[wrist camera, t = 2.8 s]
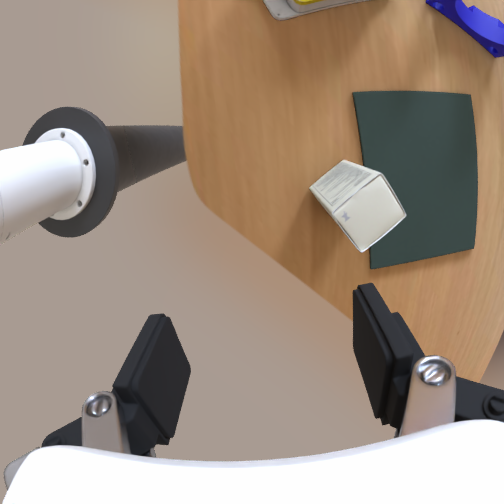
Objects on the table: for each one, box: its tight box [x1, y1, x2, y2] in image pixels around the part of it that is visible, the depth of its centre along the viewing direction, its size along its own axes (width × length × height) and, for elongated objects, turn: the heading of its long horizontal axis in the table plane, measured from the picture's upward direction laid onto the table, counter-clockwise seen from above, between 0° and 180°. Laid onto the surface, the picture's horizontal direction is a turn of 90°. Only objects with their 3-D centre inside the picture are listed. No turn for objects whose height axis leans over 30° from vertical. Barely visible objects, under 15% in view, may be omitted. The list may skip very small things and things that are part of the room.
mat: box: [353, 91, 478, 269], centre depth 29 cm, size 16×20×1 cm
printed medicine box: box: [309, 160, 406, 252], centre depth 25 cm, size 5×4×10 cm
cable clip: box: [426, 0, 504, 58], centre depth 17 cm, size 12×4×6 cm, turn 70°
